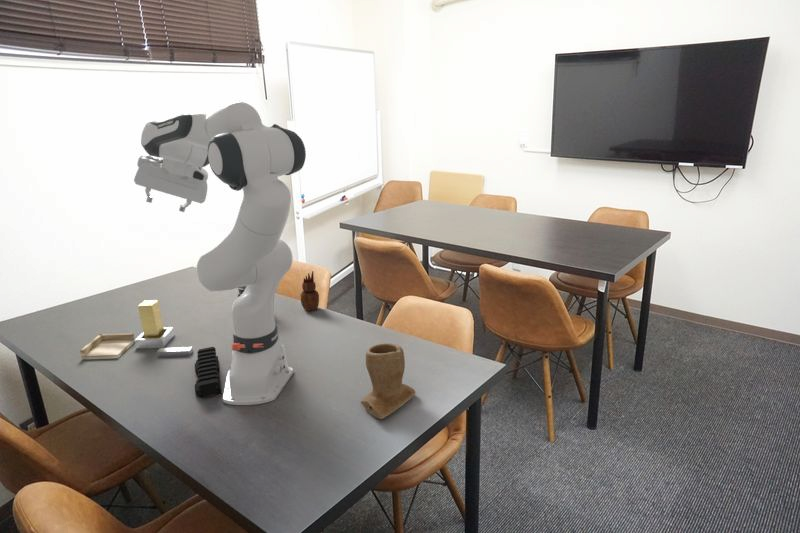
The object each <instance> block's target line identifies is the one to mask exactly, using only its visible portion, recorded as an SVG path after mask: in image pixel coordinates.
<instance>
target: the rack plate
mask: <svg viewBox="0 0 800 533" xmlns="http://www.w3.org/2000/svg"><path fill="white" fill-rule="evenodd" d="M135 339H136V338H135V333H134V332H124V333H123V332H122V333H100V334H99V333H98V335H97V336H96V337H94V338H93V339H92V340H91V341H89V343H87V344H86V345H85V346H83V347H82V348H81V349H80V355H81V359H82V360H109V359H119V358H120V357H121V356H122V355H123V354H124V353H126V352H127V351H128V349H129V348H131V347H132V346H133V345H135Z"/></svg>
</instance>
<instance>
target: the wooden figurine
mask: <svg viewBox="0 0 800 533" xmlns="http://www.w3.org/2000/svg"><path fill="white" fill-rule="evenodd" d="M310 275H311V276H310ZM314 278H315V277H314V271H313V270H312V271H311V274H310V272H308V273H307V275H306V276H305V277H304V278H303V281H302V285H301V288H302V291H301V293H300V303H301V306H302V308H303V310H306V311H307V312H308V311H309V312H310V311H315V310H317V309H318V307H319V305H320V304H319V303H320V294H319V292H318V291H317V290H316V282H315V280H314Z"/></svg>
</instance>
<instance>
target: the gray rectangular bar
mask: <svg viewBox="0 0 800 533" xmlns="http://www.w3.org/2000/svg"><path fill="white" fill-rule="evenodd" d="M193 352H194V348H193V346H181V347H178V346H177V347H164V348H158V350H157V352H156V356H157V357H158V358H159V357H160V358H162V357H183V356H192V354H193Z"/></svg>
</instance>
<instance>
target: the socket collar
mask: <svg viewBox="0 0 800 533" xmlns="http://www.w3.org/2000/svg"><path fill="white" fill-rule="evenodd" d="M163 328H164V334H163V335H162V336H161V337H160V338H145V337H144V332H141V333H140V334H139V335H138V336H137V337H136V338H135V343H134V345H135V349H160V348H166V346H167V345H168V344H169V343H170V342H171V340H172V339H173V338H174V337H175V335H176V333H175V330H174V327H173V326H172V327H171V326H168V327H163Z"/></svg>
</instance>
